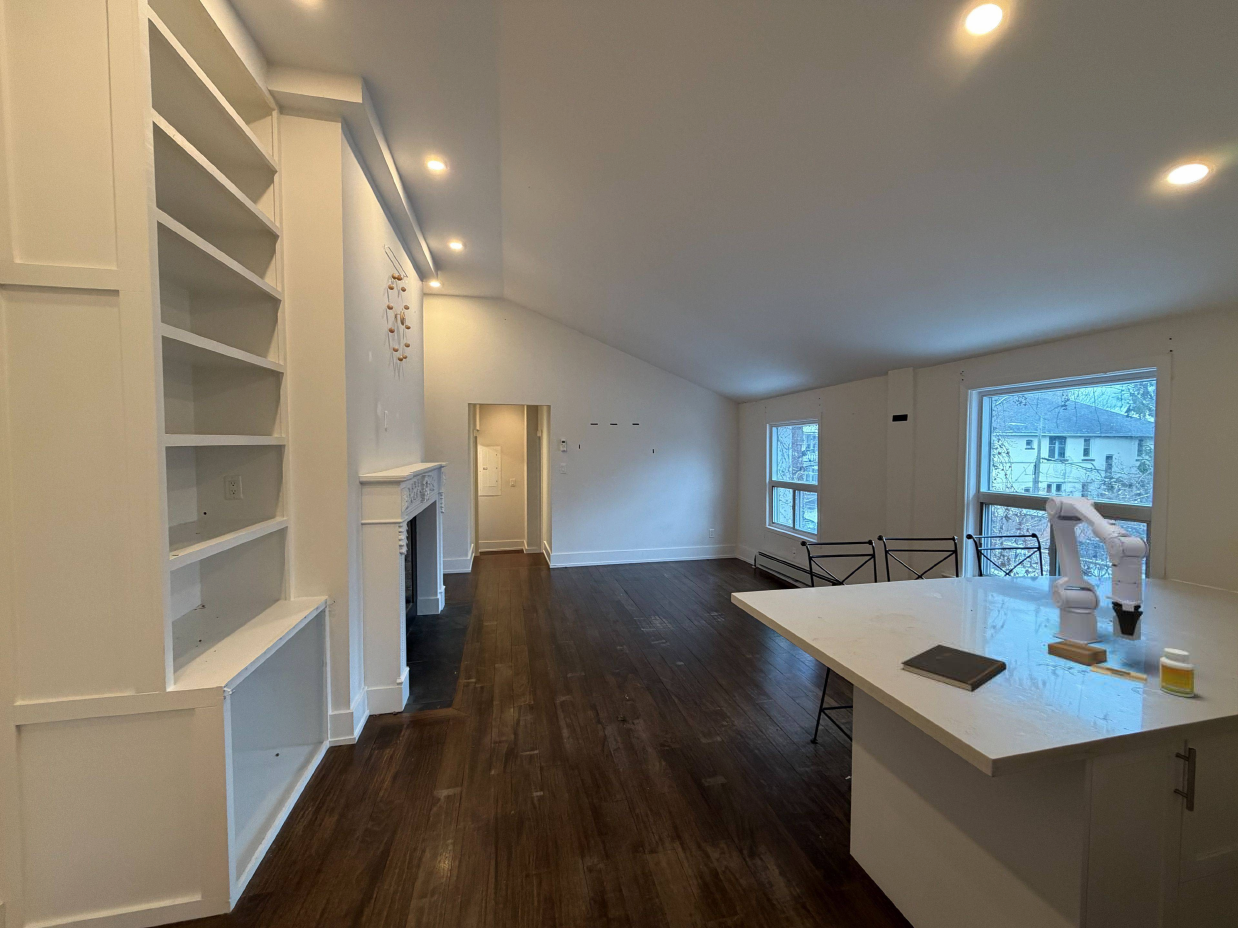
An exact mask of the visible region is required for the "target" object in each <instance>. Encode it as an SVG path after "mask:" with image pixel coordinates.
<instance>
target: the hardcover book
mask: <svg viewBox="0 0 1238 928" xmlns="http://www.w3.org/2000/svg"><path fill="white" fill-rule="evenodd" d="M900 664H901V665H902V669H903V670H904V671H907V672H910V673H914V674H917V675H920V676H923V677H926V678H929V679H932V680H934V681H938V682H940V683H941V682H942V683H944V684H948V685H951V686H954V687H957V688H961V689H964V690H965V691H969V692H972V693H973V692H974V691H976V690H977V689H979V688H981V686H983V685H984V684H986V683H987V682H989V681H990V680H992V679H993V678H995V677H996V676H998V675H999V674H1001V673H1003V672H1004V671H1006V670H1007V664H1006V662H1005V661H1003V660H1000V659H999V660H998V659H995V658H991V657H988V656H985V655H980V654H977V653H973V652H969V651H965V650H961V649H958V648H954V647H949V646H946V645H943V644H937V645H935V646H933V647H931V648H929V649H927V650H925V651H922V652H921V653H919V654H916V655H915V656H912V657H910V658H909V659H906V660H904V661H902V662H901V663H900Z"/></svg>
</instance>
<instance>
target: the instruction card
mask: <svg viewBox="0 0 1238 928" xmlns="http://www.w3.org/2000/svg"><path fill="white" fill-rule="evenodd" d="M1089 672H1093V673H1096V674H1097V673H1098V674H1101V675H1104V676H1105V675H1107V676H1110V677H1115V678H1119V679H1124V680H1129V681H1133V682H1137V683H1141V684H1145V685H1146V684H1147V676H1148V675H1147V674H1143V673H1138V672H1136V671H1135V672H1134V671H1130V670H1126V669H1125V670H1124V669H1121V668H1116V667H1112V666H1107V665H1103V664H1099V663H1096V664H1092V665H1090V668H1089Z"/></svg>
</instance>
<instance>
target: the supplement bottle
mask: <svg viewBox="0 0 1238 928" xmlns="http://www.w3.org/2000/svg"><path fill="white" fill-rule="evenodd" d="M1163 655H1164V656H1163V657H1160V658H1159V663H1158V664H1159V689H1160V690H1162V692H1165V693H1167V694H1170V695H1174V696H1178V697H1184V698H1190V697H1191V698H1192V697H1194V695H1195V677H1194V676H1195V666H1194V665H1193V663H1192V662H1190V661H1189V660H1190V653H1189V652H1188V651H1184V650H1180V649H1177V648H1176V649H1175V648H1171V647H1170V648H1169V647H1165V648H1163Z"/></svg>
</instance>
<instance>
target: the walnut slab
mask: <svg viewBox="0 0 1238 928" xmlns="http://www.w3.org/2000/svg"><path fill="white" fill-rule="evenodd" d="M1107 653H1108V652H1107V649H1104V648H1101V647H1097V646H1095V645H1089V644H1081V643H1077V642H1073V641H1069V640H1065V639H1063V640H1060V641H1055V642H1050V643H1047V654H1048V655H1050V656H1052V657H1053V656H1054V657H1055V658H1056V657H1057V658H1060V659H1063V660H1067V661H1069V662H1073V663H1077V664H1081V665H1085V666H1092V664H1099V663H1103V662H1107V661H1108V657H1107V656H1108V655H1107Z"/></svg>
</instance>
